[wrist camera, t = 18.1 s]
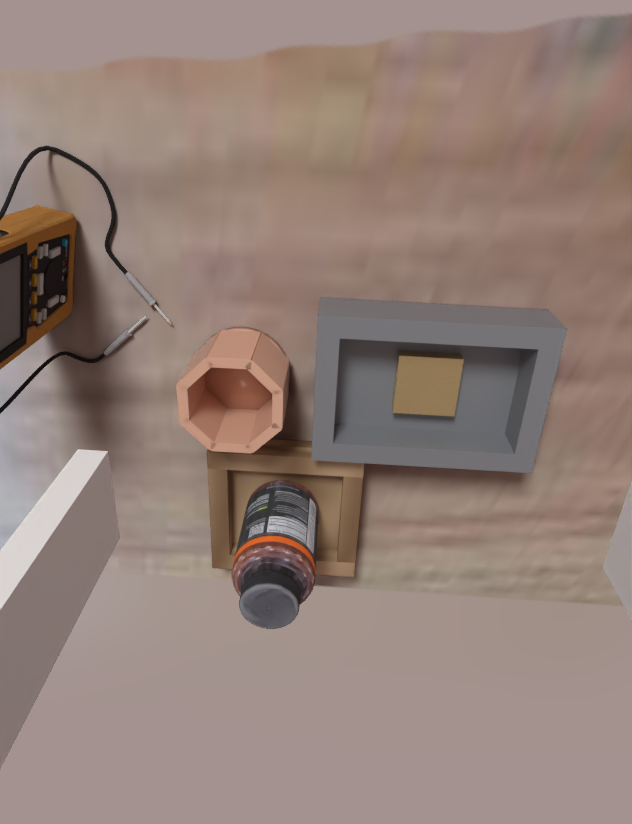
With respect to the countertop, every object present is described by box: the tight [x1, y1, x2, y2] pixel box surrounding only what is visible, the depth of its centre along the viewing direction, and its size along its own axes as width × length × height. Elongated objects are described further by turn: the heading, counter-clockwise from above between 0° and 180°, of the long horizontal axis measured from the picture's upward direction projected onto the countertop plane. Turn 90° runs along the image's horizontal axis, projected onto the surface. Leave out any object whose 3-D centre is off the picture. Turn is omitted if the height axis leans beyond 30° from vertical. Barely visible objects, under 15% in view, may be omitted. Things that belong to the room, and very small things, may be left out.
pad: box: [392, 351, 464, 416], centre depth 43 cm, size 4×4×1 cm
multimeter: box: [0, 146, 172, 413], centre depth 33 cm, size 15×10×20 cm
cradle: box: [311, 298, 567, 473], centre depth 43 cm, size 16×11×4 cm
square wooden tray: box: [207, 439, 364, 577], centre depth 49 cm, size 12×12×2 cm
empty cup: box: [176, 327, 290, 454], centre depth 42 cm, size 7×7×6 cm
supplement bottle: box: [232, 480, 319, 629], centre depth 44 cm, size 6×6×11 cm
